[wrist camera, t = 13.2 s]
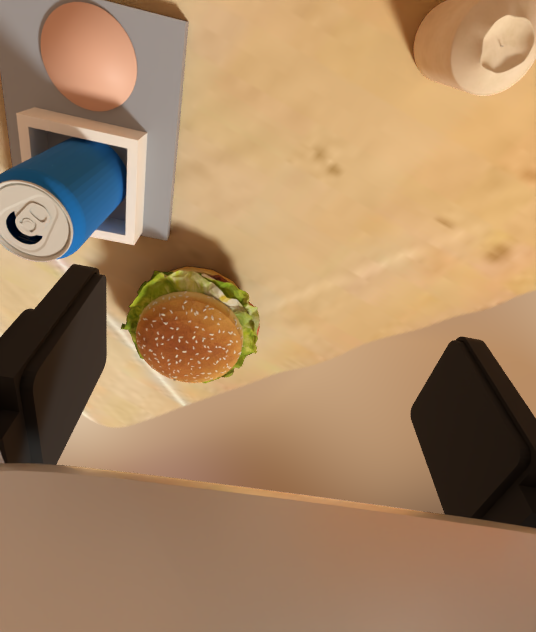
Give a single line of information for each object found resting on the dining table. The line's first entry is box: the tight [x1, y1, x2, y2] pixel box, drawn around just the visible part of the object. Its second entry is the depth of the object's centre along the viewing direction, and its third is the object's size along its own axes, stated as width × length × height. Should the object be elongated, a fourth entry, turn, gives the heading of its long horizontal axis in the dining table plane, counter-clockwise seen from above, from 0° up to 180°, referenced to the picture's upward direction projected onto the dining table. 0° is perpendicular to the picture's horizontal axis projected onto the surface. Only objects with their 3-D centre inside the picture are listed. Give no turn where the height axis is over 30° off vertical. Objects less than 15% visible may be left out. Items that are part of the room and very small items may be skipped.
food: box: [121, 267, 259, 383], centre depth 44 cm, size 14×14×8 cm
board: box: [0, 0, 188, 245], centre depth 35 cm, size 18×14×4 cm
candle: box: [413, 0, 536, 96], centre depth 29 cm, size 6×6×10 cm
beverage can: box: [0, 137, 127, 262], centre depth 32 cm, size 6×6×12 cm
